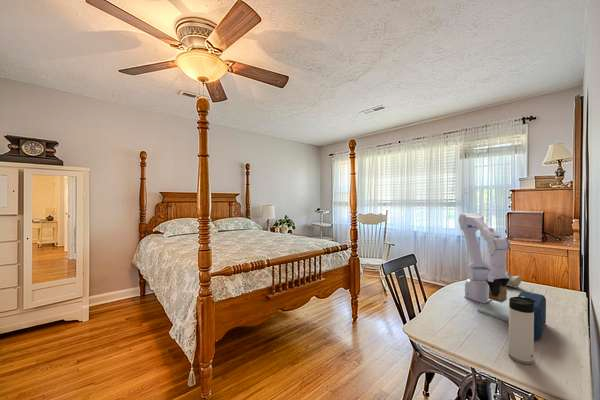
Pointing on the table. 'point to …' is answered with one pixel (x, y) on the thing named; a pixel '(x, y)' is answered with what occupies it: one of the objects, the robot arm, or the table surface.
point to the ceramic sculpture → (514, 281)
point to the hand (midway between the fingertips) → (497, 294)
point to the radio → (537, 312)
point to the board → (496, 311)
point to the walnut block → (501, 296)
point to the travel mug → (521, 329)
